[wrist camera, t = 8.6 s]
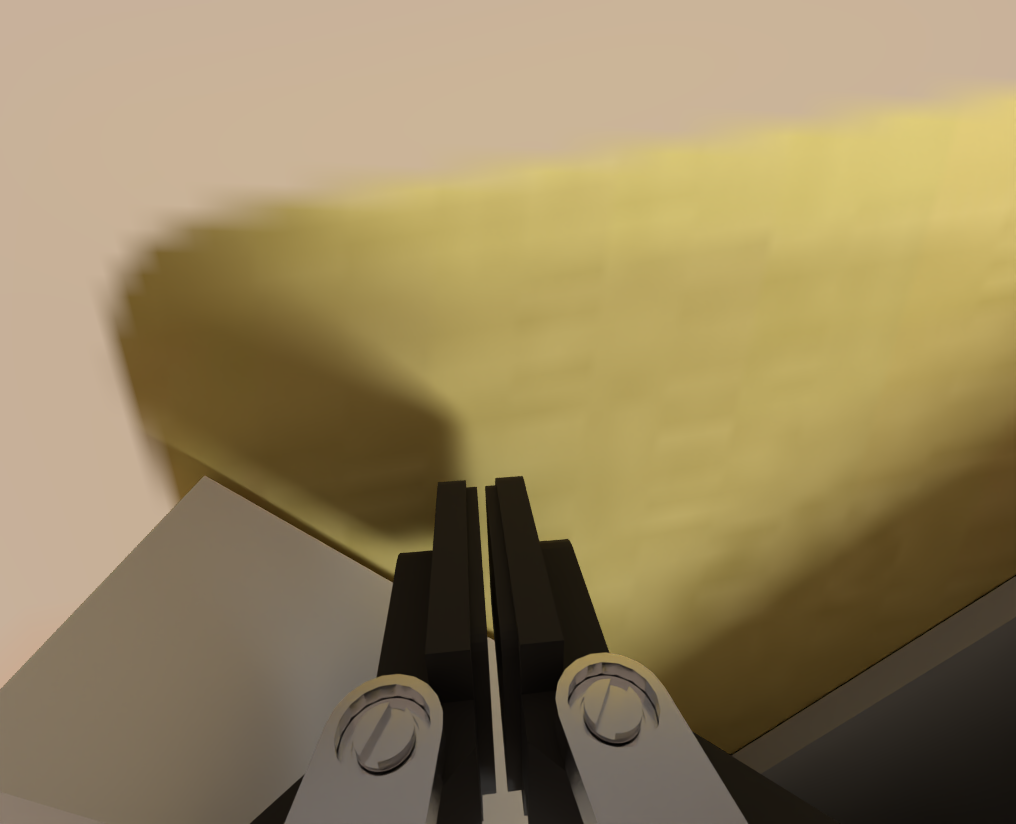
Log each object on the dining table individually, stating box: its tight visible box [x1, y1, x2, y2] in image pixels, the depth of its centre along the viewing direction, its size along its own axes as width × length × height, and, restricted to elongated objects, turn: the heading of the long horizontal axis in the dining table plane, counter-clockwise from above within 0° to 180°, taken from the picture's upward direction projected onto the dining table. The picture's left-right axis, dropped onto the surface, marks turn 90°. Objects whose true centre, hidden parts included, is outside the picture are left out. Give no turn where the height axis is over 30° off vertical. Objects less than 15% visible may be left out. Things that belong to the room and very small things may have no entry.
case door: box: [0, 475, 528, 824], centre depth 10 cm, size 17×2×5 cm, turn 48°
